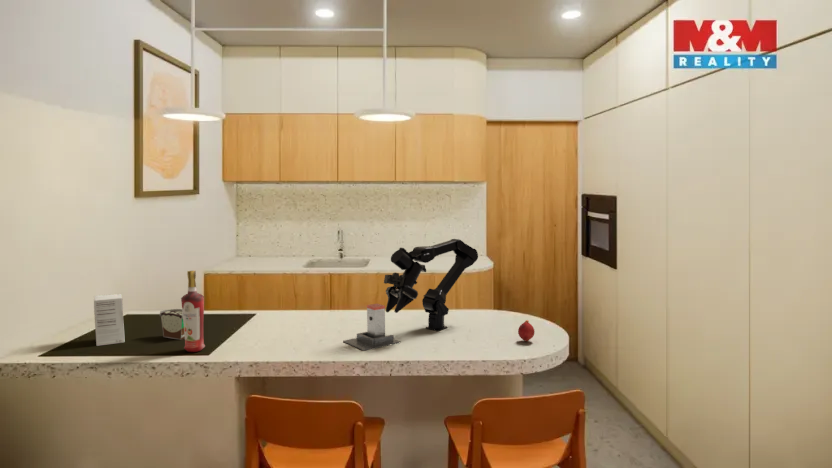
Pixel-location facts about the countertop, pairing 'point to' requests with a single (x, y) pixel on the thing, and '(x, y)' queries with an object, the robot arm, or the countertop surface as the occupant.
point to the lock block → (375, 320)
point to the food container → (172, 323)
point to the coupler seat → (370, 341)
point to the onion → (526, 331)
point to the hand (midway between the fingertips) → (390, 312)
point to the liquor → (193, 316)
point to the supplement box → (109, 319)
